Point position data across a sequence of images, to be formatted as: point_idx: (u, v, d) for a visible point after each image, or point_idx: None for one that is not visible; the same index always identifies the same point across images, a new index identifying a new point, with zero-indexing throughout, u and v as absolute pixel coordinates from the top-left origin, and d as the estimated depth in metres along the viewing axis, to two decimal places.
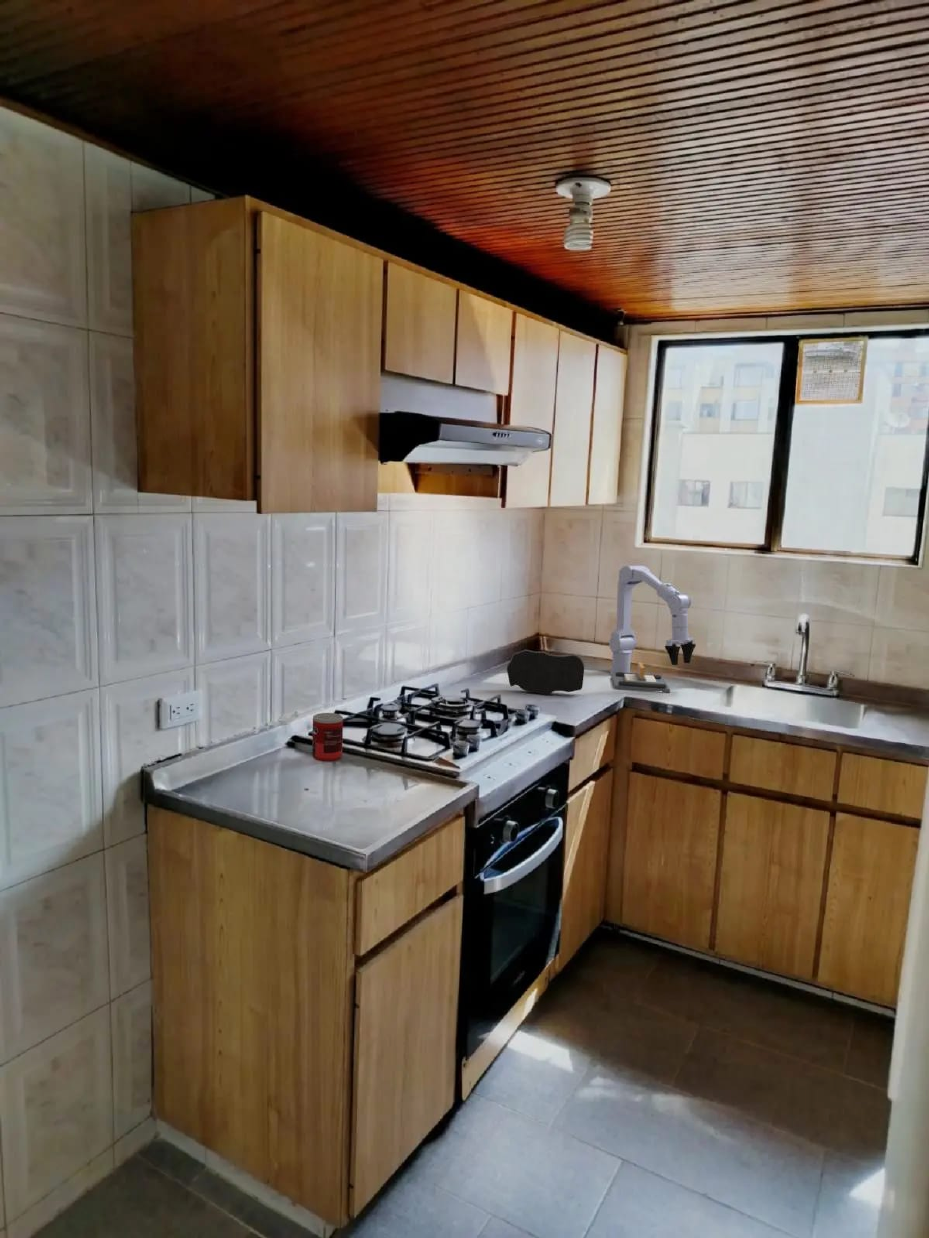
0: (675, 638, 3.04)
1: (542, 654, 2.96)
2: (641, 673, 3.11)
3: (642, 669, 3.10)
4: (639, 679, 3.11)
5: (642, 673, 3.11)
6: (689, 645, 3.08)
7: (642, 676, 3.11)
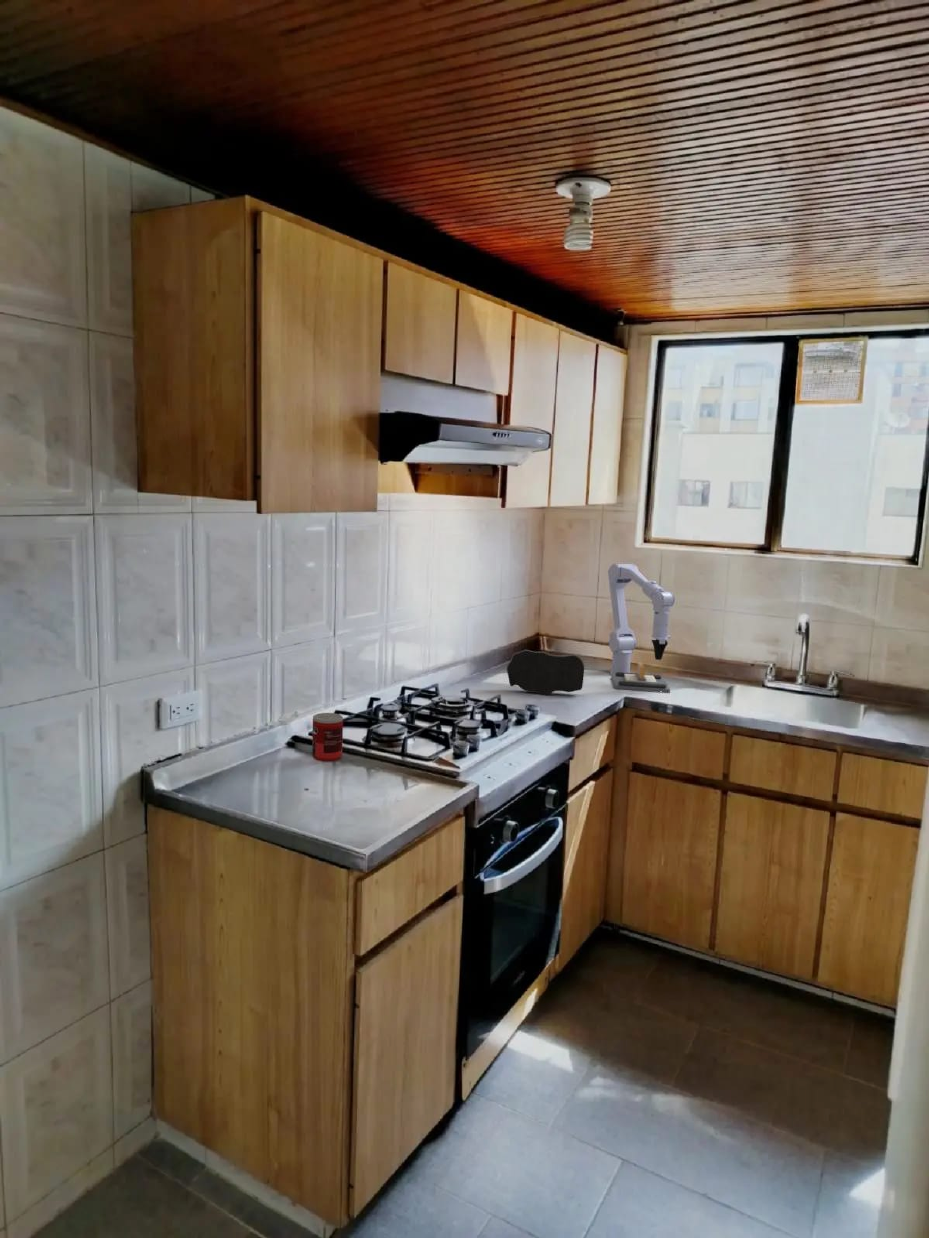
0: (661, 635, 3.09)
1: (542, 654, 2.96)
2: (641, 673, 3.11)
3: (642, 669, 3.10)
4: (639, 679, 3.11)
5: (642, 673, 3.11)
6: None
7: (642, 676, 3.11)
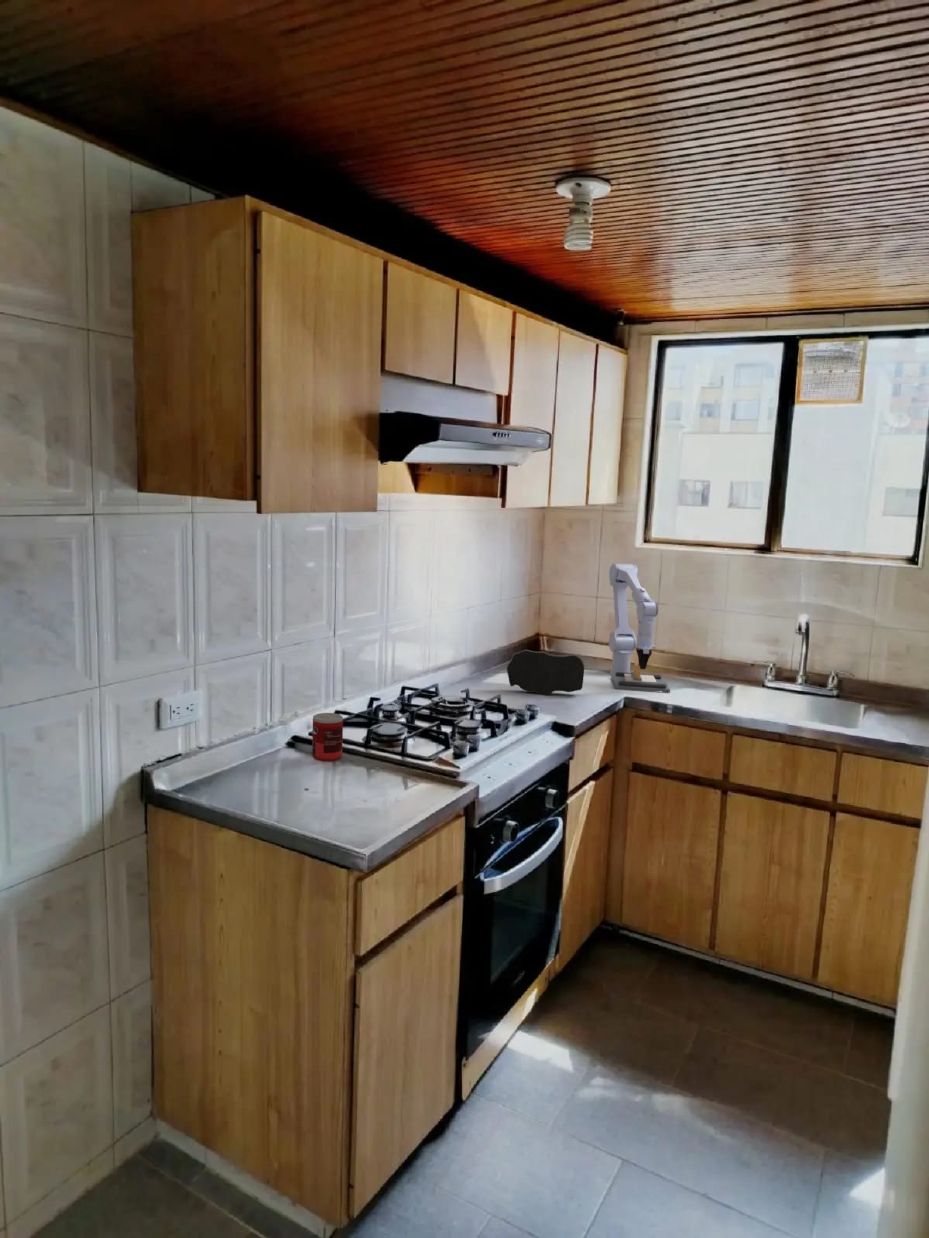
0: (645, 645, 3.10)
1: (542, 654, 2.96)
2: (637, 673, 3.11)
3: (638, 669, 3.10)
4: (635, 679, 3.11)
5: (638, 673, 3.11)
6: None
7: (638, 676, 3.11)
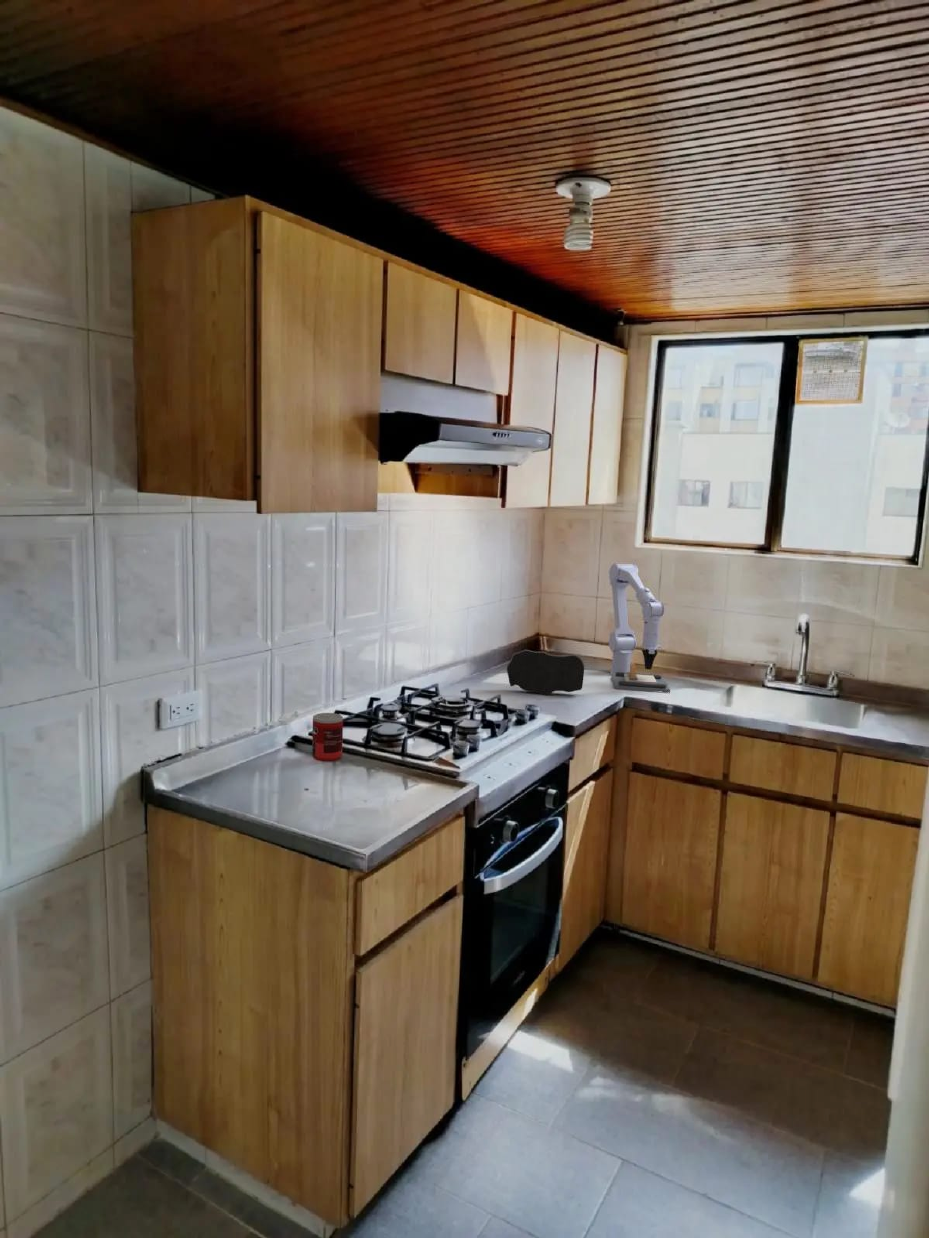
0: (650, 645, 3.10)
1: (542, 654, 2.96)
2: (633, 672, 3.11)
3: (634, 668, 3.11)
4: (631, 678, 3.11)
5: (634, 672, 3.11)
6: None
7: (634, 675, 3.11)
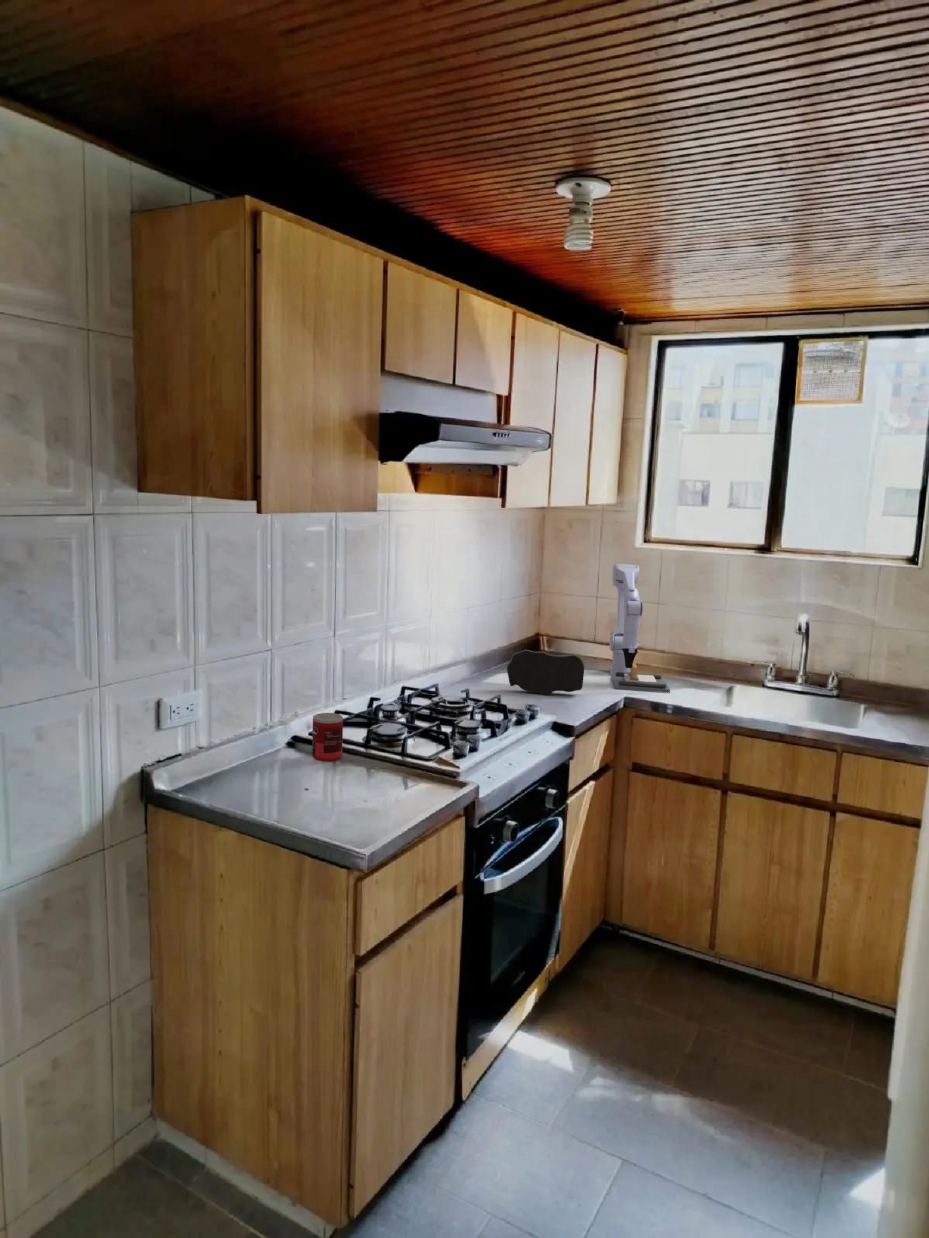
0: (630, 644, 3.11)
1: (542, 654, 2.96)
2: (634, 673, 3.11)
3: (635, 669, 3.11)
4: (632, 679, 3.11)
5: (635, 673, 3.11)
6: None
7: (635, 676, 3.11)
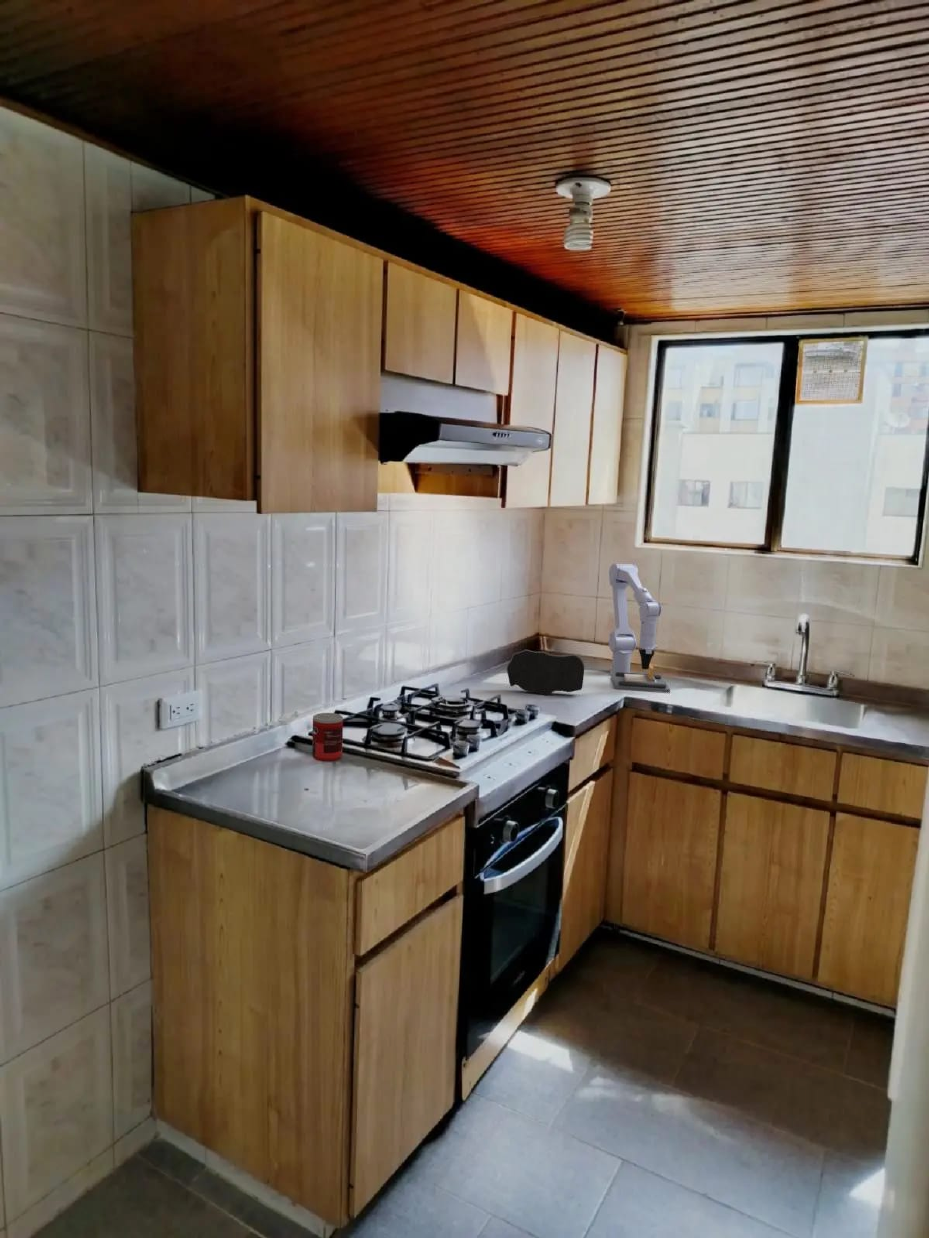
0: (647, 645, 3.10)
1: (542, 654, 2.96)
2: (650, 674, 3.10)
3: (651, 670, 3.10)
4: (648, 680, 3.10)
5: (651, 674, 3.10)
6: None
7: (651, 677, 3.10)
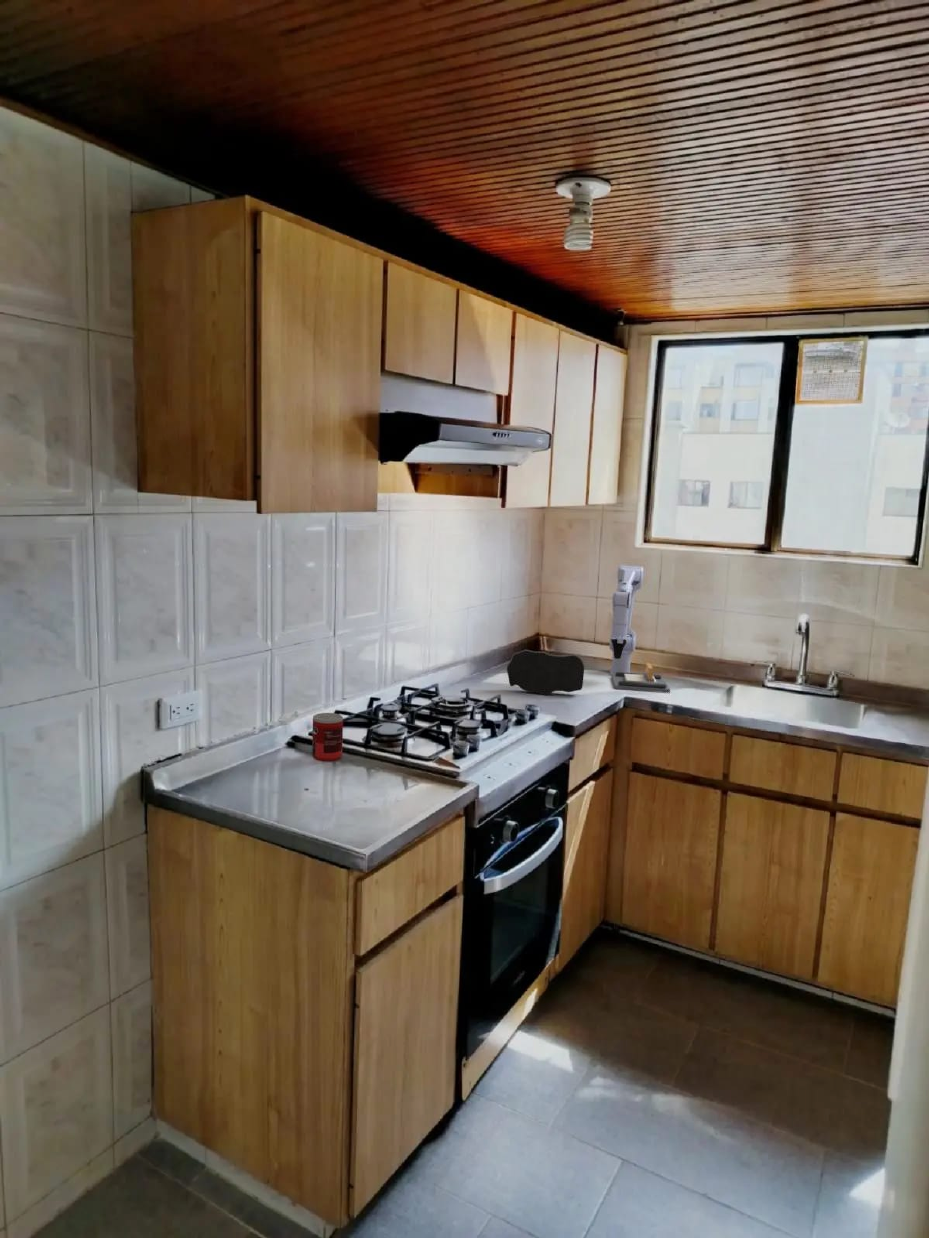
0: (619, 634, 3.13)
1: (542, 654, 2.96)
2: (649, 674, 3.10)
3: (650, 670, 3.10)
4: (647, 680, 3.10)
5: (650, 674, 3.10)
6: None
7: (650, 677, 3.10)
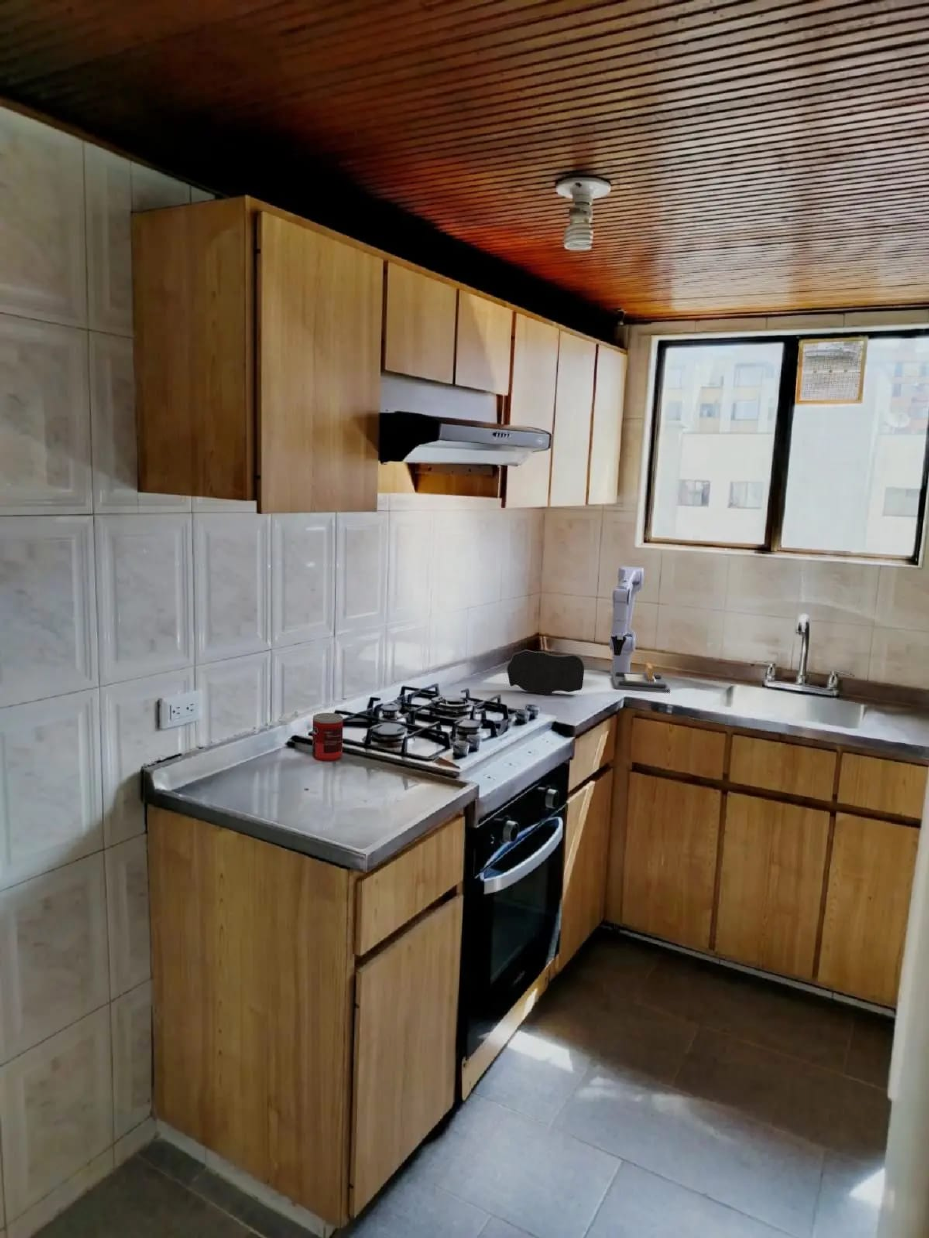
0: (619, 631, 3.13)
1: (542, 654, 2.96)
2: (649, 674, 3.10)
3: (650, 670, 3.10)
4: (647, 680, 3.10)
5: (650, 674, 3.10)
6: None
7: (650, 677, 3.10)
